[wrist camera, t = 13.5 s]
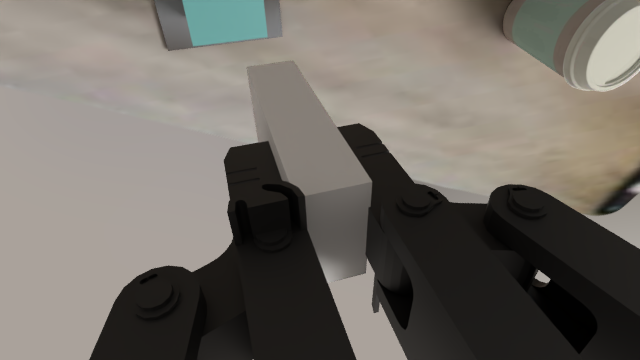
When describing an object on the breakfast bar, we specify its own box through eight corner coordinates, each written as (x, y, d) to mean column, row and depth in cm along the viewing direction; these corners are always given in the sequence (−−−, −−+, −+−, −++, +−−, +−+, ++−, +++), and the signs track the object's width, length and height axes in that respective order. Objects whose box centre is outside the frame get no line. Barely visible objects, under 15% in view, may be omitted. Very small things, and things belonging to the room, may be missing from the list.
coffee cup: (489, 65, 44) (572, 111, 34) (492, -13, 38) (591, 18, 29) (556, 37, 44) (655, 76, 35) (567, -43, 38) (689, -22, 29)
